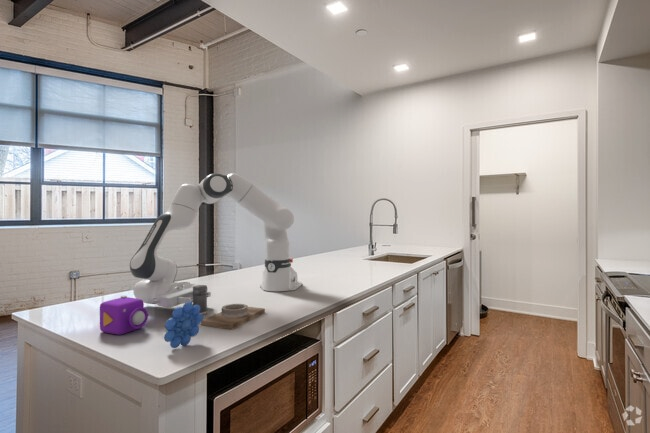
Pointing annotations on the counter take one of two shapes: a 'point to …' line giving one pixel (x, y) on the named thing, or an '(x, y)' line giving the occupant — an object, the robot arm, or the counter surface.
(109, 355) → the counter surface
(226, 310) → the mount
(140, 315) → the toy camera
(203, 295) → the grey rounded cylinder
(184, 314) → the blue lumpy cluster
